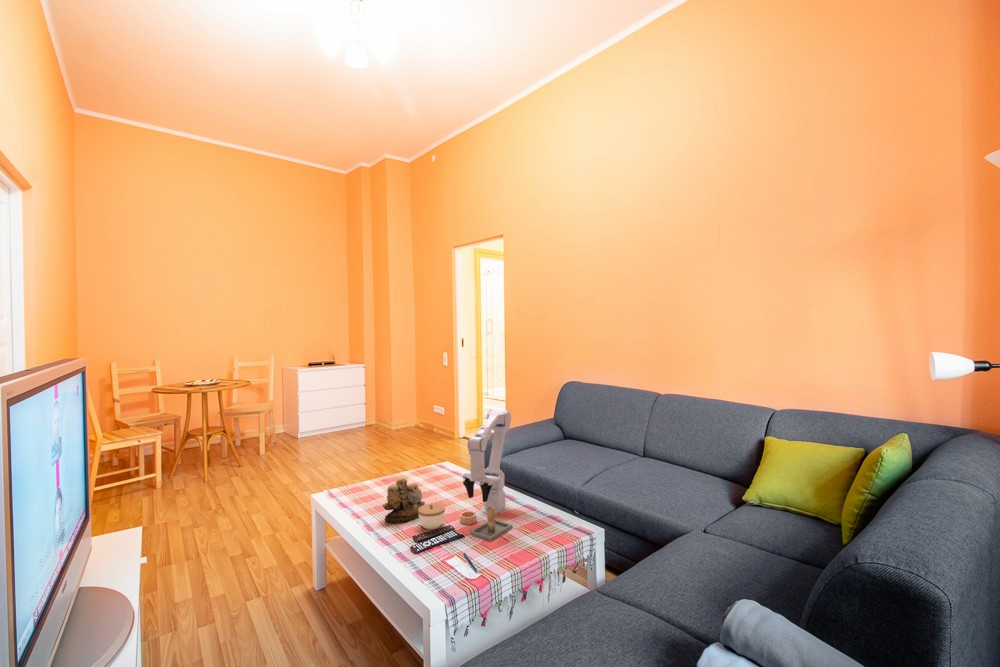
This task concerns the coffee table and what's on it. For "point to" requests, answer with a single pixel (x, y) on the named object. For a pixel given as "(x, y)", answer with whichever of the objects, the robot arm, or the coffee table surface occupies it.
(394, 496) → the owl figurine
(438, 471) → the coffee table surface
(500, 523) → the tray
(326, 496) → the coffee table surface
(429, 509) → the lidded jar
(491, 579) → the coffee table surface
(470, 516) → the cup
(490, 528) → the dowel
